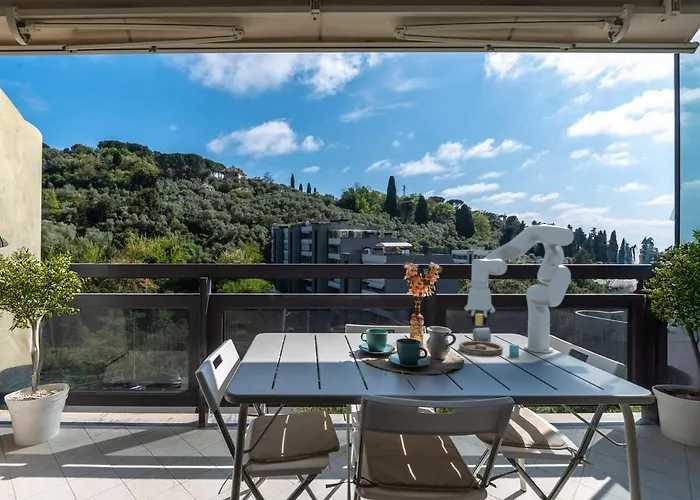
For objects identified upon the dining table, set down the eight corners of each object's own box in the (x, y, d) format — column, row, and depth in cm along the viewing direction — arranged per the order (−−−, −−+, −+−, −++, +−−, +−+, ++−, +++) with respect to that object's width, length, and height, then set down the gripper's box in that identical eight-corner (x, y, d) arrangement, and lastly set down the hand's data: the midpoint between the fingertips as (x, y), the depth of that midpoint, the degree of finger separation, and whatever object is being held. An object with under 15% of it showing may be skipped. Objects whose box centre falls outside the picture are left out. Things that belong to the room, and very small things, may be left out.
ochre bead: (474, 325, 191) (474, 314, 191) (475, 324, 195) (475, 313, 195) (483, 326, 189) (483, 315, 189) (484, 324, 193) (484, 314, 193)
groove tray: (463, 344, 210) (463, 339, 210) (504, 348, 202) (504, 343, 202) (456, 352, 193) (456, 347, 193) (500, 358, 184) (500, 352, 184)
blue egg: (509, 354, 191) (509, 343, 191) (519, 355, 189) (519, 344, 189) (509, 356, 187) (509, 345, 187) (518, 357, 185) (518, 346, 185)
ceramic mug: (471, 340, 220) (472, 326, 220) (487, 340, 219) (487, 326, 219) (476, 345, 209) (476, 330, 209) (492, 345, 209) (493, 330, 208)
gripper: (460, 285, 192) (459, 324, 192) (498, 287, 185) (497, 327, 185) (462, 284, 199) (462, 322, 199) (499, 285, 192) (498, 325, 192)
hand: (479, 324), depth 192 cm, fingers closed on ochre bead, 3 cm apart
